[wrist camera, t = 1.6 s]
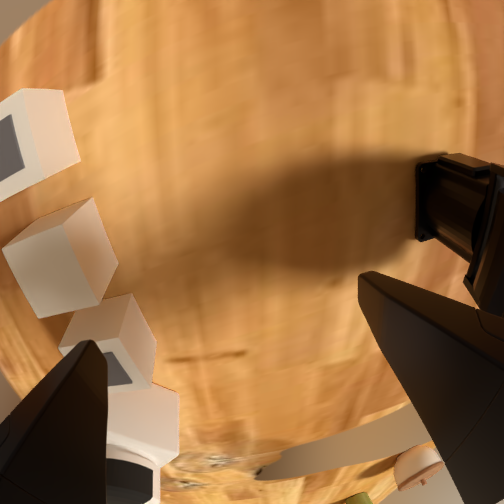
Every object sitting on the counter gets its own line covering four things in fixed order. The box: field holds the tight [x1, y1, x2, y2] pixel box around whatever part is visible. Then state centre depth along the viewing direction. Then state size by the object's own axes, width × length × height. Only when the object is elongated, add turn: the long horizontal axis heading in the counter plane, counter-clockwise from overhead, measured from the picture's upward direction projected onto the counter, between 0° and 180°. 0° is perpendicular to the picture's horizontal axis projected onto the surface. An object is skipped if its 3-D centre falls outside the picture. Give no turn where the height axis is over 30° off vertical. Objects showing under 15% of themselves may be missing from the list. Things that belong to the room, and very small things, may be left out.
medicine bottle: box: [106, 383, 179, 504], centre depth 21 cm, size 7×7×12 cm
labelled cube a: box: [58, 293, 157, 394], centre depth 20 cm, size 5×5×5 cm
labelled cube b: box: [0, 88, 81, 202], centre depth 13 cm, size 5×5×5 cm
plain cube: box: [2, 197, 119, 319], centre depth 16 cm, size 5×5×5 cm
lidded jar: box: [394, 445, 444, 491], centre depth 43 cm, size 11×11×9 cm
